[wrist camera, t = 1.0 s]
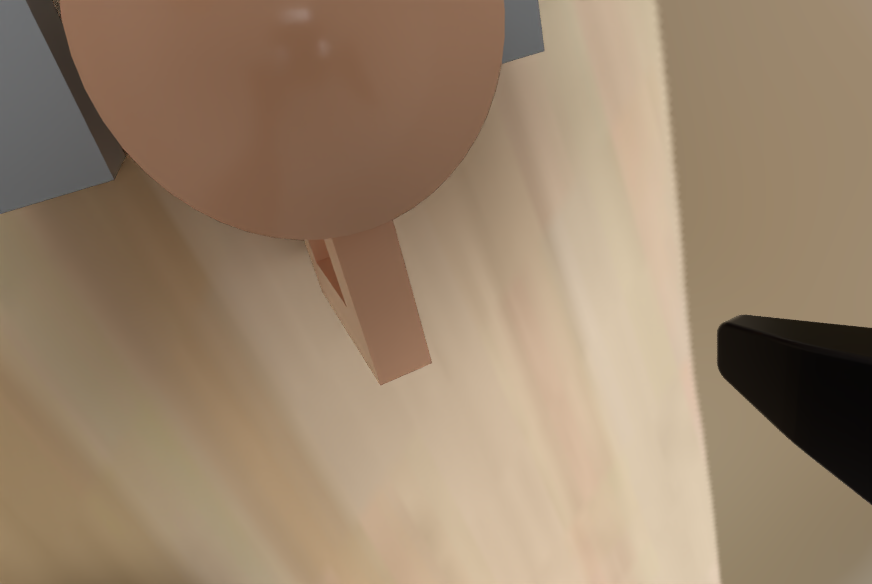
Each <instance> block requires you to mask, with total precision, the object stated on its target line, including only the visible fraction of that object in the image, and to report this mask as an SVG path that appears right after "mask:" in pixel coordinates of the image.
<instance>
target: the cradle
mask: <svg viewBox="0 0 872 584" xmlns="http://www.w3.org/2000/svg"><path fill="white" fill-rule="evenodd" d="M504 8H505V39H504V47H503V56H502V64H503V63H506V62H509V61H513V60H516V59H519V58H523V57H526V56H529V55H533V54H536V53H539V52H543V51H544V43H543V35H542V27H541V20H540V12H539V4H538V0H504ZM125 157H126V156H125V154H124V152H123V150H122V148H121V146H120V144H119V142H118V141H117V140H116V138H115V137H114V136H113V134H112V133H111V131H110V130H109V129H108V127H107V126H106V125H105V123H104V122H103V120H102V119H101V117H100V115H99V113H98V112H97V110H96V108H95V106H94V105H93V103H92V101H91V99H90V97H89V96H88V94H87V92H86V90H85V88H84V86H83V83H82V81H81V78H80V76H79V73H78V71H77V69H76V66H75V64H74V61H73V59H72V56H71V53H70V49H69V45H68V42H67V38H66V34H65V30H64V27H63V24H62V21H61V19H60V17H59V15H58V13H57V11H56V9H55V7H54V5H53V3H52V0H0V214H2V213H5V212H8V211H12V210H15V209H18V208H22V207H25V206H28V205H32V204H35V203H38V202H42V201H45V200H48V199H52V198H55V197H58V196H62V195H65V194H68V193H72V192H75V191H78V190H82V189H85V188H88V187H92V186H95V185H98V184H102V183H105V182H108V181H112V180H114V179H115V177H116V175H117V173H118V171H119V169H120V167H121V165H122V163H123V161H124V159H125Z"/></svg>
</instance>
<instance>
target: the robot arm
mask: <svg viewBox="0 0 872 584" xmlns="http://www.w3.org/2000/svg"><path fill="white" fill-rule="evenodd" d="M717 366H718V369H719V371H720V373H721V375H722V376H723V377H724V378H725V379H726V380H727V381H728V382H729V383H730V384H731V385H732V386H733V387H734V388H735V389H736V390H737V391H738V392H739V393H740V394H741V395H743V397H745V398H746V399H747V400H748V401H749V402H750V403H751V404H752V405H753V406H754V407H755V408H756V409H758V411H759V412H760V413H762V414H763V415H764V416H765V417H766V418H767V419H768V420H769V421H770V422H771V423H772V424H773V425H774V426H776V428H777V429H779V430H780V431H781V432H782V433H783V434H784V435H785V436H786V437H787V438H788V439H790V440H791V441H792V442H793V443H794V444H795V445H796V446H798V447H799V448H800V449H801V450H803V451H804V452H805V453H806V454H808V455H809V456H810V457H811V458H812V459H814V460H815V461H816V462H818V463H819V464H820V465H822V466H823V467H824V468H825V469H827V470H828V471H829V472H830V473H832V474H833V475H834V476H835V477H837V478H838V479H839V480H840V481H842V482H843V483H844V484H846V485H847V486H848V487H849V488H851V489H852V490H853V491H854V492H856V493H857V494H858V495H860V496H861V497H862V498H863V499H865V500H866V501H867V502H868V503H870V504H871V505H872V328H867V327H857V326H847V325H838V324H827V323H819V322H809V321H799V320H790V319H780V318H771V317H761V316H752V315H739V316H736V317H734V318H732V319H730V320H728V321H725V322H723V323H722V324H721V325H720V326H719V328H718V330H717Z"/></svg>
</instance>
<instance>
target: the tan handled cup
mask: <svg viewBox="0 0 872 584" xmlns="http://www.w3.org/2000/svg"><path fill="white" fill-rule="evenodd" d="M59 2H60V10H61V18H62V23H63V27H64V30H65V34H66V38H67V42H68V45H69V49H70V53H71V56H72V59H73V61H74V64H75V66H76V69H77V71H78V73H79V76H80V78H81V81H82V83H83V86H84V88H85V90H86V92H87V94H88V96H89V97H90V99H91V101H92V103H93V105H94V106H95V108H96V110H97V112H98V113H99V115H100V117H101V119H102V120H103V122H104V123H105V125H106V126H107V127H108V129H109V130H110V131H111V133H112V134H113V136H114V137H115V138H116V140H117V141H118V142H119V144H120V145H121V146H122V148H123V149H124V150H125V151H126V152H127V153H128V154H129V155H130V156H131V157H132V159H133V160H134V161H135V162H136V163H137V164H138V165H139V166H140V167H141V168H142V169H143V170H144V171H145V172H146V173H147V174H148V175H149V176H150V177H152V178H153V179H154V180H155V181H156V182H157V183H159V184H160V185H161V186H162V187H163V188H165V189H166V190H167V191H168V192H169V193H171V194H172V195H174V196H175V197H177V198H178V199H180V200H181V201H183V202H185V203H186V204H188V205H189V206H191V207H192V208H194V209H195V210H197V211H199V212H201V213H203V214H205V215H207V216H209V217H211V218H213V219H215V220H217V221H219V222H222V223H224V224H227V225H230V226H233V227H236V228H238V229H241V230H244V231H247V232H251V233H255V234H260V235H264V236H269V237H273V238H284V239H294V240H304V242H305V244H306V247H307V250H308V253H309V256H310V258H311V261H312V264H313V267H314V270H315V272H316V275H317V278H318V281H319V284H320V287H321V289H322V292H323V294H324V295H325V297H326V298H327V300H328V302H329V303H330V305H331V307H332V308H333V310H334V311H335V313H336V315H337V316H338V318H339V319H340V321H341V323H342V324H343V326H344V327H345V329H346V331H347V332H348V334H349V336H350V337H351V339H352V340H353V342H354V344H355V345H356V347H357V348H358V350H359V352H360V353H361V355H362V356H363V358H364V360H365V361H366V363H367V365H368V366H369V368H370V369H371V371H372V373H373V374H374V376H375V377H376V379H377V381H378V382H379V384H380V385H383V384H385V383H387V382H389V381H392V380H394V379H396V378H399V377H401V376H403V375H406V374H408V373H410V372H412V371H415V370H417V369H419V368H422V367H424V366H426V365H428V364H431V363H432V361H431V358H430V354H429V350H428V347H427V343H426V340H425V336H424V332H423V329H422V325H421V321H420V318H419V314H418V310H417V307H416V303H415V299H414V296H413V292H412V289H411V285H410V281H409V278H408V274H407V270H406V267H405V263H404V259H403V256H402V252H401V248H400V245H399V241H398V237H397V234H396V230H395V227H394V223H393V219H395V218H397V217H399V216H400V215H402V214H404V213H405V212H407V211H409V210H410V209H412V208H414V207H415V206H416V205H418V204H419V203H420V202H422V201H423V200H424V199H425V198H427V197H428V196H429V195H431V194H432V193H433V192H434V191H435V190H436V189H437V188H438V187H439V186H440V185H441V184H442V183H443V182H444V181H445V180H446V179H447V178H448V177H449V176H450V175H451V174H452V172H453V171H454V170H455V169H456V167H457V166H458V165H459V164H460V162H461V161H462V160H463V159H464V157H465V156H466V154H467V152H468V151H469V149H470V147H471V146H472V144H473V143H474V141H475V139H476V138H477V136H478V134H479V132H480V130H481V127H482V125H483V123H484V121H485V119H486V117H487V115H488V112H489V109H490V106H491V103H492V100H493V97H494V94H495V91H496V87H497V83H498V78H499V74H500V69H501V65H502V56H503V47H504V39H505V8H504V0H59Z"/></svg>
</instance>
